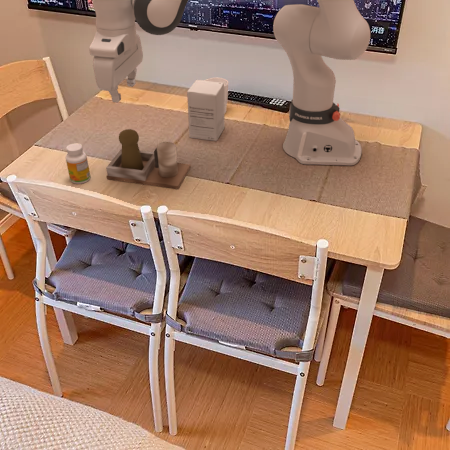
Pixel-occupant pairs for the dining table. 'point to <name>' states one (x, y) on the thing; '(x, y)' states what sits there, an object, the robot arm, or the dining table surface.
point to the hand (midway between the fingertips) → (124, 93)
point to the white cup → (224, 89)
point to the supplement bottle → (77, 164)
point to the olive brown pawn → (130, 150)
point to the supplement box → (206, 110)
